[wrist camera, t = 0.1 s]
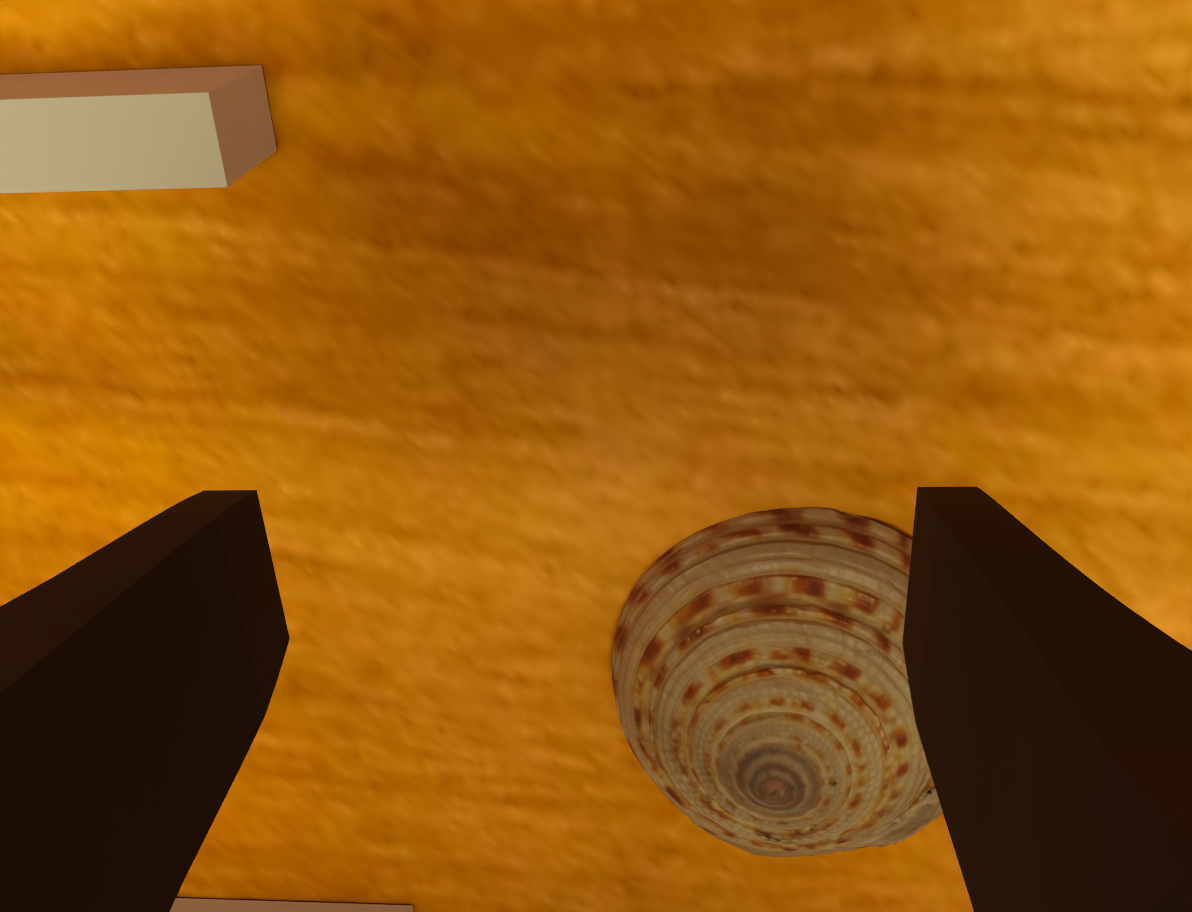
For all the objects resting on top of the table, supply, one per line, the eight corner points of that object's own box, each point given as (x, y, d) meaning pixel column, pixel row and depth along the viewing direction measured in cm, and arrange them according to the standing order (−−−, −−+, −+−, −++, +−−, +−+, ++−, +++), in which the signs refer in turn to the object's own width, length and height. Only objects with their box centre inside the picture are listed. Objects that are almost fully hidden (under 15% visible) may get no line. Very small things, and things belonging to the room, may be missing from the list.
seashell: (761, 937, 27) (572, 845, 21) (710, 725, 31) (539, 602, 25) (1096, 814, 24) (978, 675, 19) (996, 598, 28) (873, 431, 22)
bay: (419, 943, 31) (398, 1027, 29) (-48, 927, 32) (-103, 1006, 30) (261, 65, 20) (208, 92, 18) (-438, 90, 21) (-569, 119, 19)
